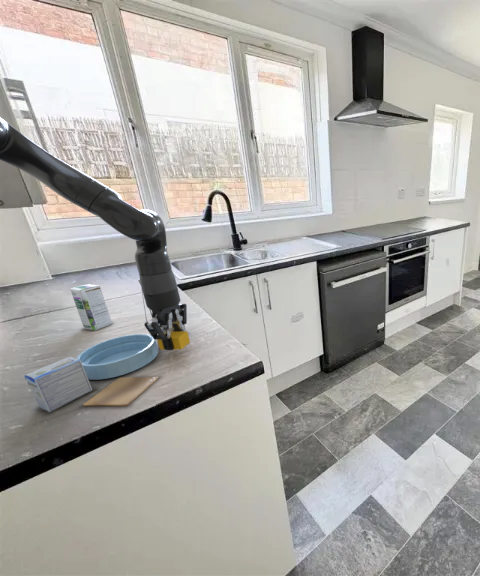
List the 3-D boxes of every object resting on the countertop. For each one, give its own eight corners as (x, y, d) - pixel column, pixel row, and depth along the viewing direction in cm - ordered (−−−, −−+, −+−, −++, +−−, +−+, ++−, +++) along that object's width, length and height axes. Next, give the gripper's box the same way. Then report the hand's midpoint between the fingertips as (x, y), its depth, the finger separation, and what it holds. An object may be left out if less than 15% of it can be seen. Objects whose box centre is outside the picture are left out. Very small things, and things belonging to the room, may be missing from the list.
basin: (63, 382, 77) (56, 366, 75) (117, 347, 92) (112, 334, 91) (128, 381, 77) (122, 365, 75) (171, 347, 92) (167, 333, 90)
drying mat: (82, 406, 68) (82, 404, 68) (119, 378, 78) (119, 377, 78) (127, 405, 68) (127, 404, 68) (158, 378, 78) (158, 376, 77)
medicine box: (82, 386, 75) (69, 355, 72) (93, 390, 73) (81, 359, 70) (38, 408, 68) (22, 374, 65) (50, 413, 66) (34, 379, 63)
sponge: (159, 349, 85) (156, 338, 84) (169, 342, 89) (166, 331, 88) (181, 349, 85) (178, 338, 84) (190, 342, 89) (187, 331, 88)
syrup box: (83, 328, 105) (67, 288, 100) (102, 321, 110) (89, 283, 105) (94, 331, 103) (79, 290, 98) (113, 323, 108) (100, 284, 103)
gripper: (164, 279, 88) (178, 333, 94) (124, 297, 74) (143, 359, 80) (190, 279, 88) (202, 333, 93) (155, 297, 74) (171, 359, 80)
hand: (175, 345), depth 87 cm, fingers closed on sponge, 4 cm apart
